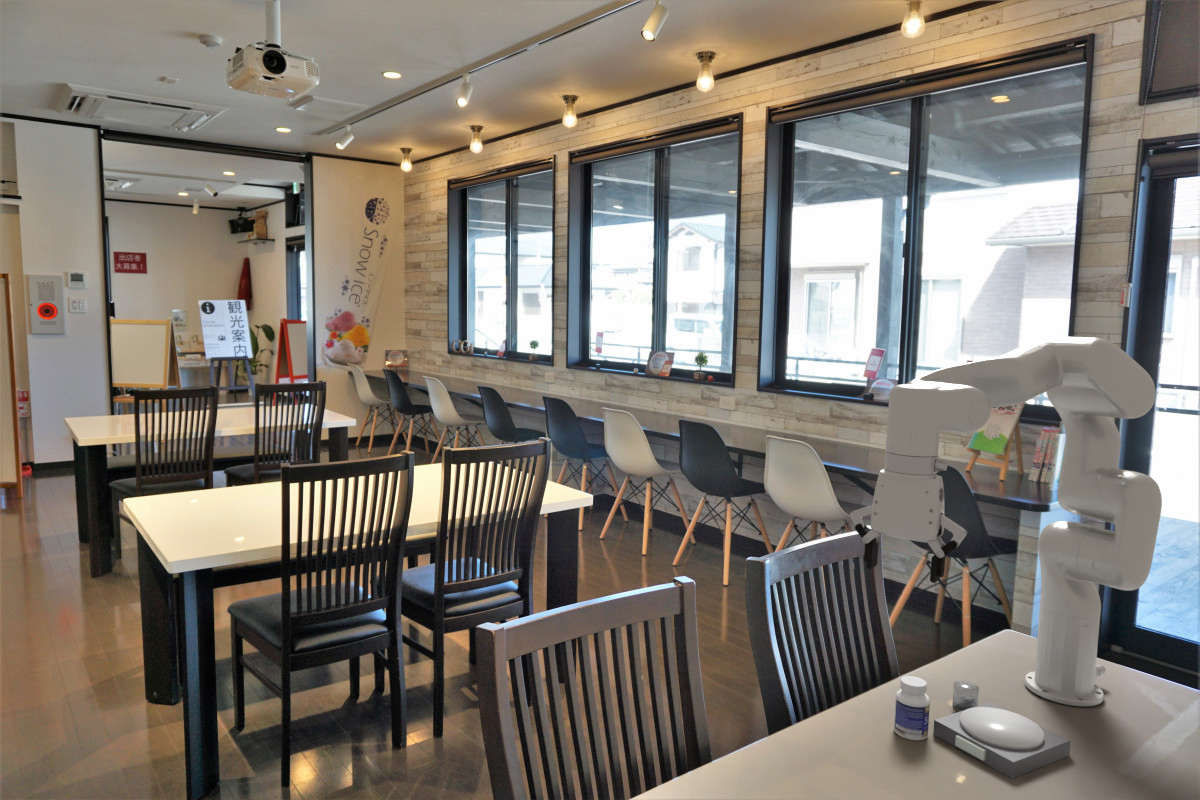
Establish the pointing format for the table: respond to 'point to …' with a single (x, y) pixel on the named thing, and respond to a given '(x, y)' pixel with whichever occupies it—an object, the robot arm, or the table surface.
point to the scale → (1002, 739)
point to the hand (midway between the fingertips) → (902, 573)
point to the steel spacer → (965, 695)
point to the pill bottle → (912, 709)
